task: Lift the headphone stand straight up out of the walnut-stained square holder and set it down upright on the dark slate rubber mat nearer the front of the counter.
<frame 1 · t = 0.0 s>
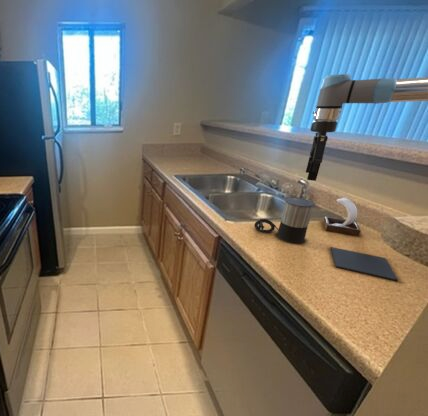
hand: (310, 176, 109), 21 cm above the worktop, tool pointing down, fingers open, 13 cm apart
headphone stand: (339, 229, 112), resting in holder
holder: (340, 228, 112), on the worktop
milk frother: (278, 235, 108), on the worktop
mat: (360, 263, 88), on the worktop
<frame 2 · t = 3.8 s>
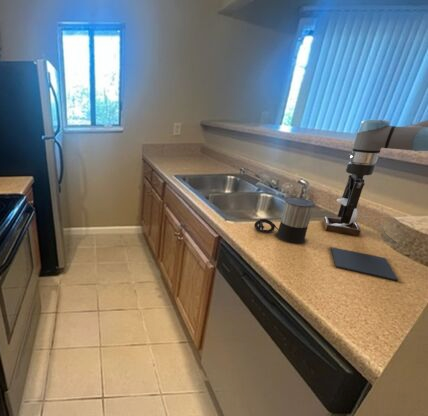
hand: (343, 219, 110), 4 cm above the worktop, tool pointing down, fingers closed on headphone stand, 6 cm apart
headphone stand: (339, 228, 112), resting in holder, touching gripper
everything else where it was.
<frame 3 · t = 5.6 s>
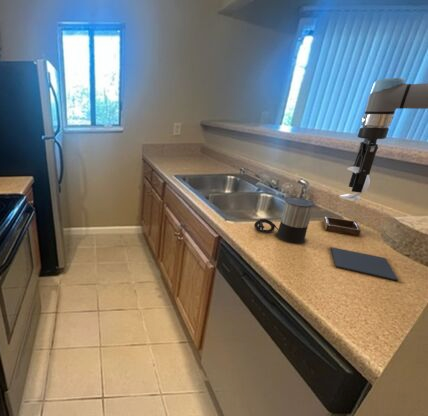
hand: (354, 189, 104), 17 cm above the worktop, tool pointing down, fingers closed on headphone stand, 6 cm apart
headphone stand: (351, 199, 106), point 13 cm above the worktop, touching gripper
everything else where it was.
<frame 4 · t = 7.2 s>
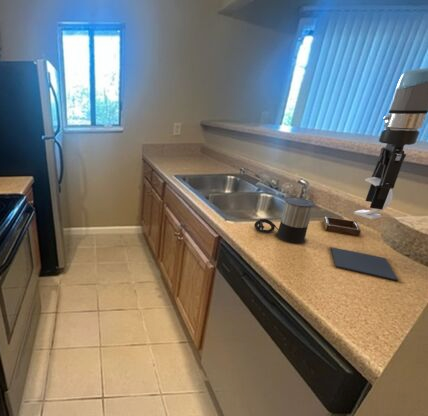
hand: (373, 204, 86), 18 cm above the worktop, tool pointing down, fingers closed on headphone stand, 6 cm apart
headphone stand: (368, 216, 88), point 14 cm above the worktop, touching gripper
everything else where it was.
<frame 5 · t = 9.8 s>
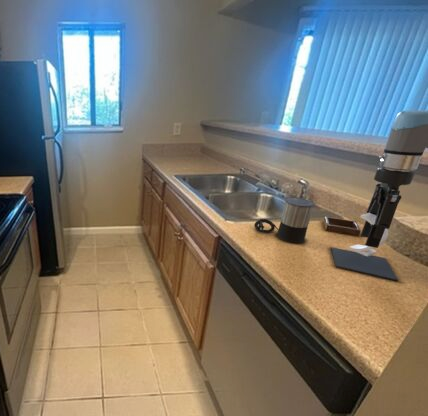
hand: (368, 241, 85), 8 cm above the worktop, tool pointing down, fingers closed on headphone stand, 6 cm apart
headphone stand: (363, 252, 87), point 4 cm above the worktop, touching gripper
everything else where it was.
when the fingers open (4 cm above the worktop, at t = 11.1 s): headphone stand stays where it is, resting on mat.
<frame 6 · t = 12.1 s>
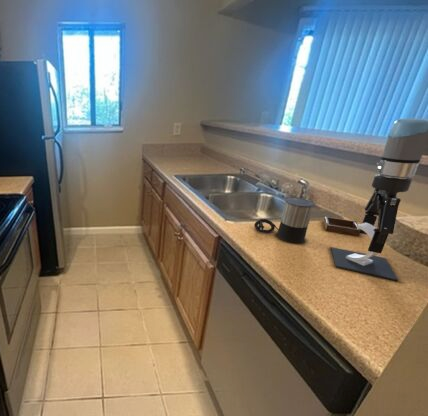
hand: (369, 242, 85), 8 cm above the worktop, tool pointing down, fingers open, 13 cm apart
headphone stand: (360, 261, 88), resting on mat
everything else where it was.
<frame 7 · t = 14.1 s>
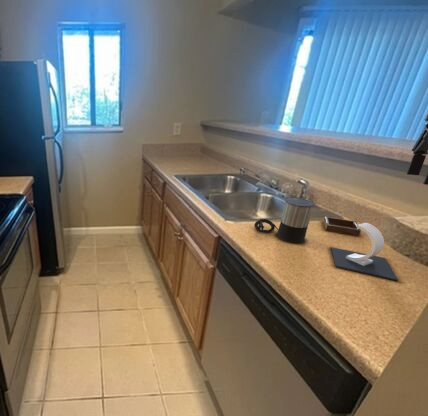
hand: (420, 179, 86), 25 cm above the worktop, tool pointing down, fingers open, 13 cm apart
nothing on the worktop moved.
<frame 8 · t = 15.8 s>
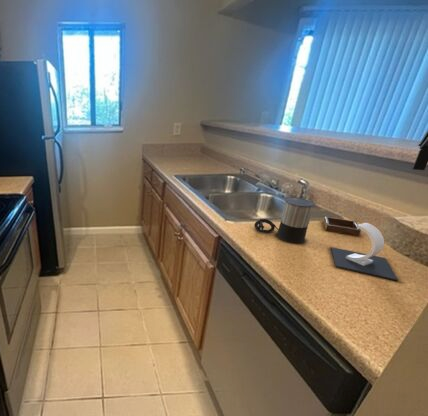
hand: (425, 174, 87), 27 cm above the worktop, tool pointing down, fingers open, 13 cm apart
nothing on the worktop moved.
at the end: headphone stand inside the target area on the mat (0.4 cm from its centre), point 0.3 cm above the mat's base; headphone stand tilted 0°; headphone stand touching mat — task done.
